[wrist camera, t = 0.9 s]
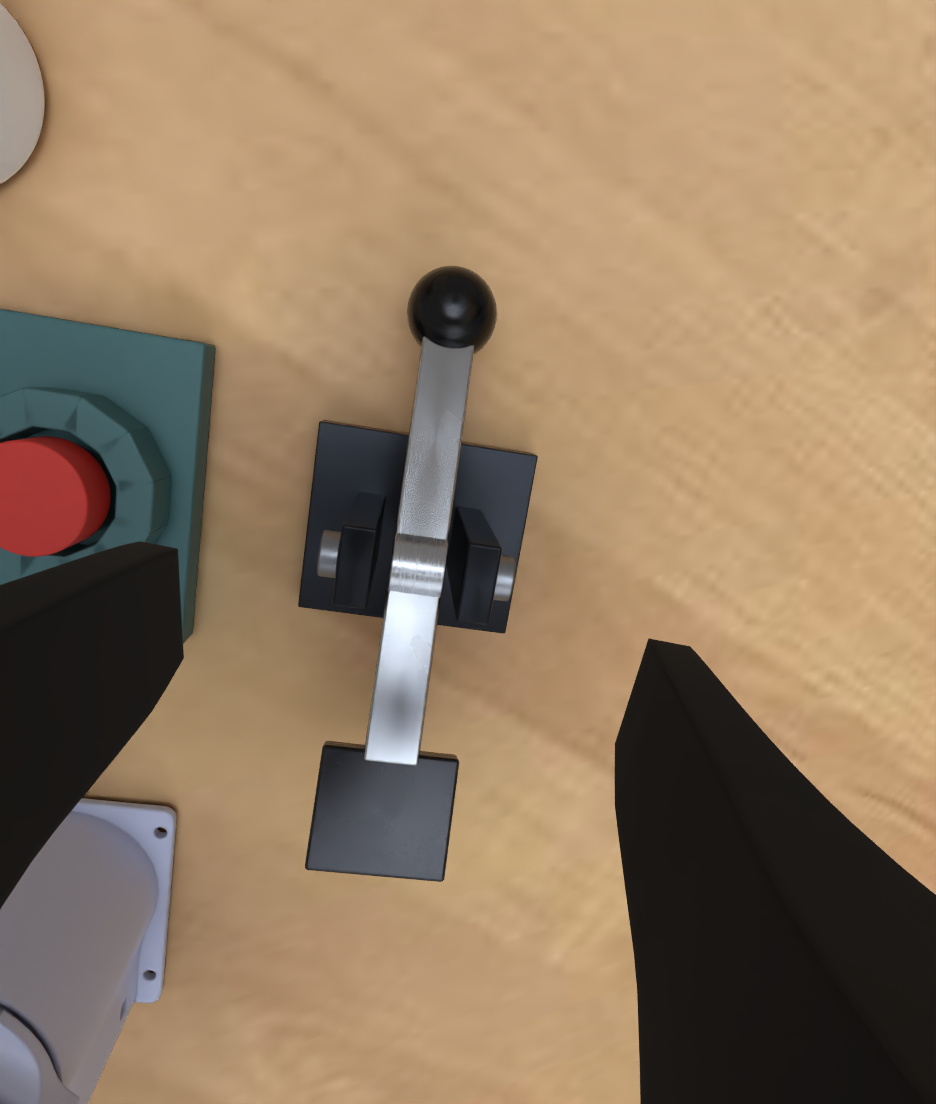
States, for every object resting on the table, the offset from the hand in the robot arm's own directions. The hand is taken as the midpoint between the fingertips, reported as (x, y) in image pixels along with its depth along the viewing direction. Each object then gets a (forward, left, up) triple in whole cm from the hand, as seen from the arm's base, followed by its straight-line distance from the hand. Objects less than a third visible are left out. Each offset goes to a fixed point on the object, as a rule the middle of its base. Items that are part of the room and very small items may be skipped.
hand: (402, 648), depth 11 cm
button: (-1, +12, -14) cm, 18 cm away
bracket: (-1, 0, -16) cm, 17 cm away
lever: (-2, 0, -12) cm, 12 cm away
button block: (-1, +12, -16) cm, 20 cm away
